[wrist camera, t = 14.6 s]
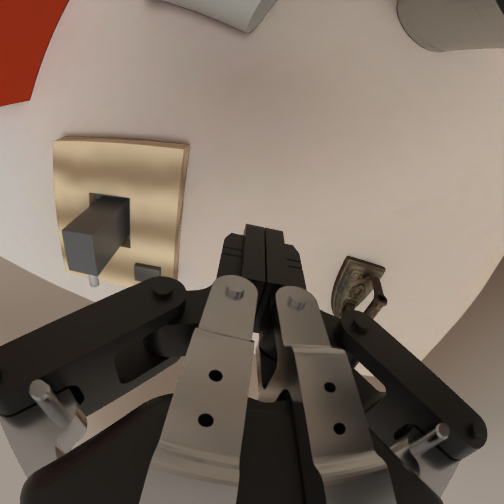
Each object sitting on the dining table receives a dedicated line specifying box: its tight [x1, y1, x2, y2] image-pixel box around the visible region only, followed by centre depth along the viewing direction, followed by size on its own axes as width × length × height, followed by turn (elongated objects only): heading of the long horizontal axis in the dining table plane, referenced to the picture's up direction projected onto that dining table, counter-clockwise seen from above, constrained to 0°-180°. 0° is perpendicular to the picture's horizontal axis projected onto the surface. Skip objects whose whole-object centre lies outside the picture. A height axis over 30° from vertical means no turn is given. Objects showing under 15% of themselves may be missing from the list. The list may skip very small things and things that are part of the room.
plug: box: [62, 196, 130, 287], centre depth 30 cm, size 8×4×10 cm, turn 171°
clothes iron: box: [331, 256, 387, 319], centre depth 39 cm, size 7×11×10 cm, turn 164°
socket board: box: [53, 136, 190, 287], centre depth 33 cm, size 20×18×4 cm
